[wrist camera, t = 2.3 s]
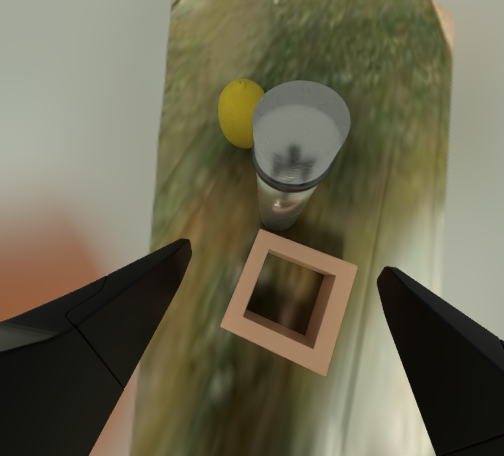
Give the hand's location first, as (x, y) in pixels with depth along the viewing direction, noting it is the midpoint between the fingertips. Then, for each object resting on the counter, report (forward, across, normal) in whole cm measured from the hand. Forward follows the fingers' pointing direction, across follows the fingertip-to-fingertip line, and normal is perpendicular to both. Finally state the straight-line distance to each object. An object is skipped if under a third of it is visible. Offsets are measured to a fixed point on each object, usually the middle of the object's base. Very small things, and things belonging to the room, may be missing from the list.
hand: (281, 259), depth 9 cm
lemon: (+20, +5, -2) cm, 20 cm away
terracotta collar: (+7, -2, +10) cm, 13 cm away
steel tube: (+13, 0, +4) cm, 14 cm away
